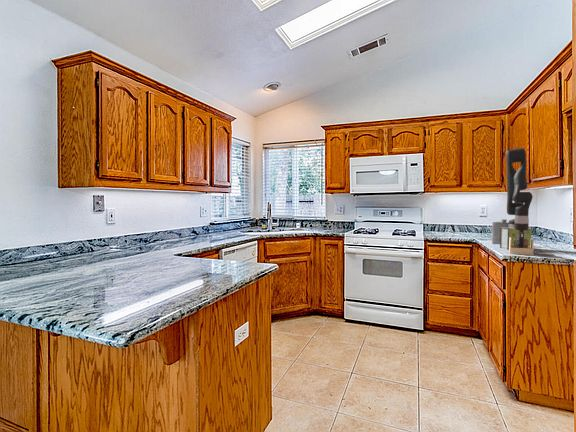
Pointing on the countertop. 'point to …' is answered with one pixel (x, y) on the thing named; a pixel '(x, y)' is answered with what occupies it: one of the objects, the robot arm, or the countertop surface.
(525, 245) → the walnut block
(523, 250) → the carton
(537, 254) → the mat
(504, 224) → the hip flask
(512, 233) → the protein box
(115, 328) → the countertop surface
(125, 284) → the countertop surface
